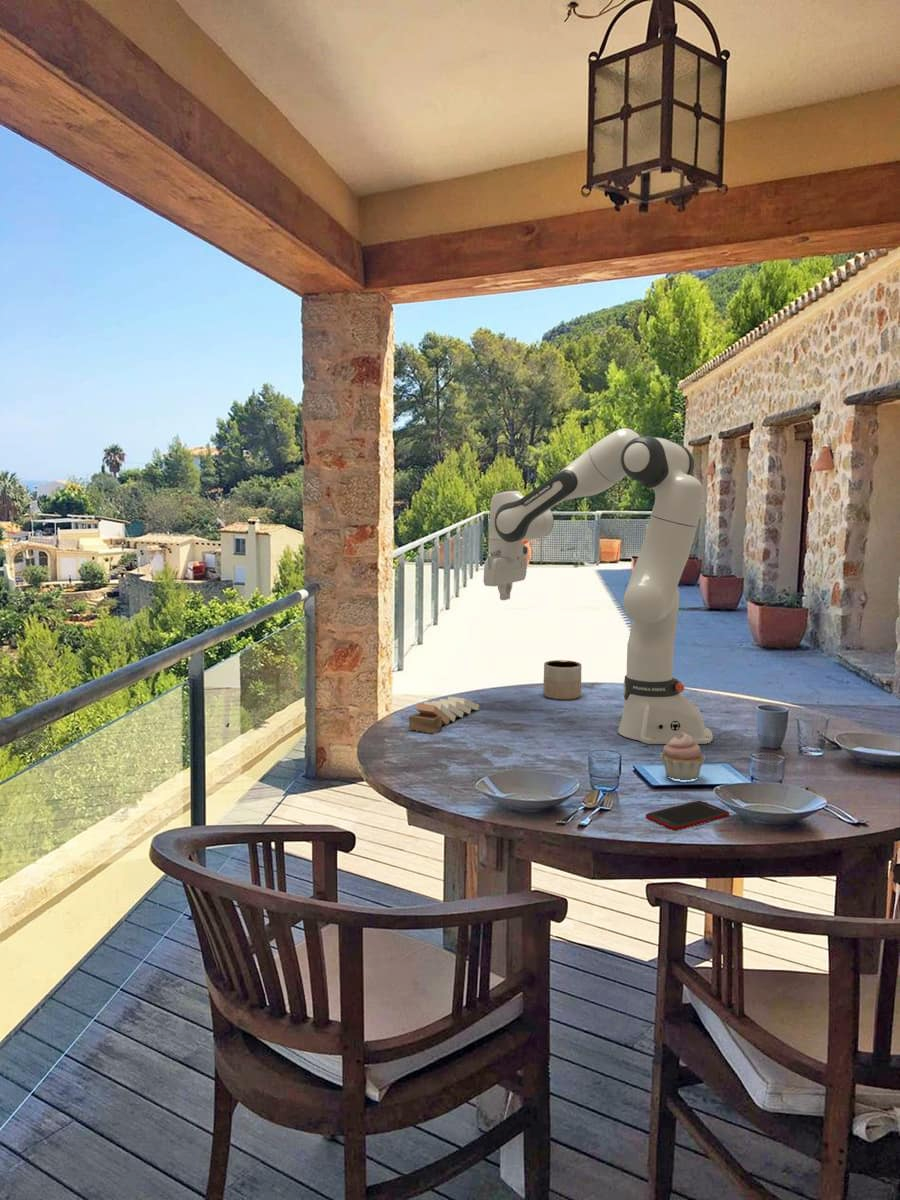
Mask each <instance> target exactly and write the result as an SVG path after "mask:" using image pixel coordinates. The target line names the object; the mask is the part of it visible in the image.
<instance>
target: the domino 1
mask: <svg viewBox="0 0 900 1200" xmlns="http://www.w3.org/2000/svg"><path fill="white" fill-rule="evenodd" d="M415 710H417V712H418V713H422V714H428V715H435V716H442V725H445V724H446V726H448V725H449V723H450V721H449V720H450V719H449V718H448V717H447V716H446V715H445V714H444V713H443V712H442V711H441V710H439V709H438V708H437V707H436V706H434V705H427V704H424V703H419V702H418V703H417V705H416V708H415Z"/></svg>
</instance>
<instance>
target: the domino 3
mask: <svg viewBox="0 0 900 1200" xmlns="http://www.w3.org/2000/svg"><path fill="white" fill-rule="evenodd" d="M431 702H433V703H440V704H442V705H444V706H445V707H446V708H447V709H448V710H449V711H450V712H452V713H453V714H454V715H455V716H456V718H458V717H459V718H460V719H463V717H464V715H465V714H464V712H463V711H461V710H459V709H458V708H456V707H455V706H453V705H451V704H450V703H444V702H439V701H437V700H431Z"/></svg>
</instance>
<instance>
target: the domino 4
mask: <svg viewBox="0 0 900 1200" xmlns="http://www.w3.org/2000/svg"><path fill="white" fill-rule="evenodd" d="M438 702H444V703H450V704H451V705H453V706H455V707H456V708H458V709H459V710H461V711H463V712H464V714H463V715H471V713H472V712H471V711H472V710H471V708H469V707H467V706H465V705H463V704H462V703H460V702H458V701H453V700H448V699H445V698H439V700H438Z"/></svg>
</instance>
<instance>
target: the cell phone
mask: <svg viewBox="0 0 900 1200" xmlns="http://www.w3.org/2000/svg"><path fill="white" fill-rule="evenodd" d="M727 817H730V812H729V810H725V809H724V808H721V807H718V806H716V805H713V804H710V803H708V802H706V801H703V800H695V801H691V802H687V803H684V804H680V805H675V806H671V807H668V808H667V807H666V808H664V809H663V808H662V809H659V810H655V811H651V812H648V813H646V814H645V819H646V818H647V820H648V819H649V820H648V821H652V822H653V821H654V823H655V822H656V823H657V822H658V823H657V824H659V823H660V824H659V825H660V826H662V825H663V826H662V827H664V826H665V827H664V828H666V827H667V828H670V829H669V830H671V829H672V830H671V831H679V830H678V829H681V830H683V829H682V828H684V829H687V828H686V827H688V828H690V827H689V826H692V827H694V826H693V825H695V826H698V825H697V824H699V825H701V824H700V823H703V824H705V823H704V822H706V823H708V821H709V822H713V820H714V821H717V820H721V819H724V818H725V819H726V818H727Z"/></svg>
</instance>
